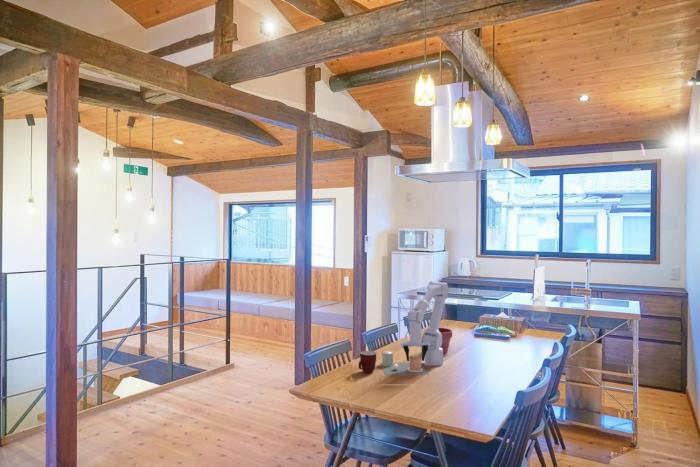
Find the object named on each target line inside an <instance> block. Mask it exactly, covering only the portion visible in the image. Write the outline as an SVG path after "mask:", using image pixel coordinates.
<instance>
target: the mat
mask: <svg viewBox="0 0 700 467" xmlns="http://www.w3.org/2000/svg"><path fill="white" fill-rule="evenodd" d="M379 363H380V366H381V369H382V371H383V374H384V376H407V375H408V376H414V375H416V376H417V375H419V376H420V375H424V376H425V375H430V373H429V371H428V370H427V369H426V368H425V366H424V365H423V362H421V368H422V369H423V371H422V372H410V371H408V370H407V368H409V362H393V365H394V364H397V365H398V366H399V368H398V370H394V369H393V366H382V362H379Z"/></svg>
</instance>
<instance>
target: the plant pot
mask: <svg viewBox="0 0 700 467" xmlns="http://www.w3.org/2000/svg"><path fill="white" fill-rule="evenodd" d="M439 332H440V333H441V334H442V345H441V346H440V347H441V348H442V349H443V354H447V353H448V351H449V347H450V342H451V339H452V338H453V330H452V329H451V328H450V329H449V328H448V327H447V328H446V327H439ZM434 336H436V335H434Z"/></svg>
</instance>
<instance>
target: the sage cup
mask: <svg viewBox="0 0 700 467" xmlns="http://www.w3.org/2000/svg"><path fill="white" fill-rule="evenodd" d="M381 363H382V366H393V363H394V352H393V351H391V350H390V351H389V350H384V351H382V352H381Z"/></svg>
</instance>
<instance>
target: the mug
mask: <svg viewBox="0 0 700 467" xmlns="http://www.w3.org/2000/svg"><path fill="white" fill-rule="evenodd" d="M376 363H377V352H375V351H372V350H364V351H360V356H359V361H358V368H359V370H362V371H363V373H364V374H373V372H374V371H375V367H376Z"/></svg>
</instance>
